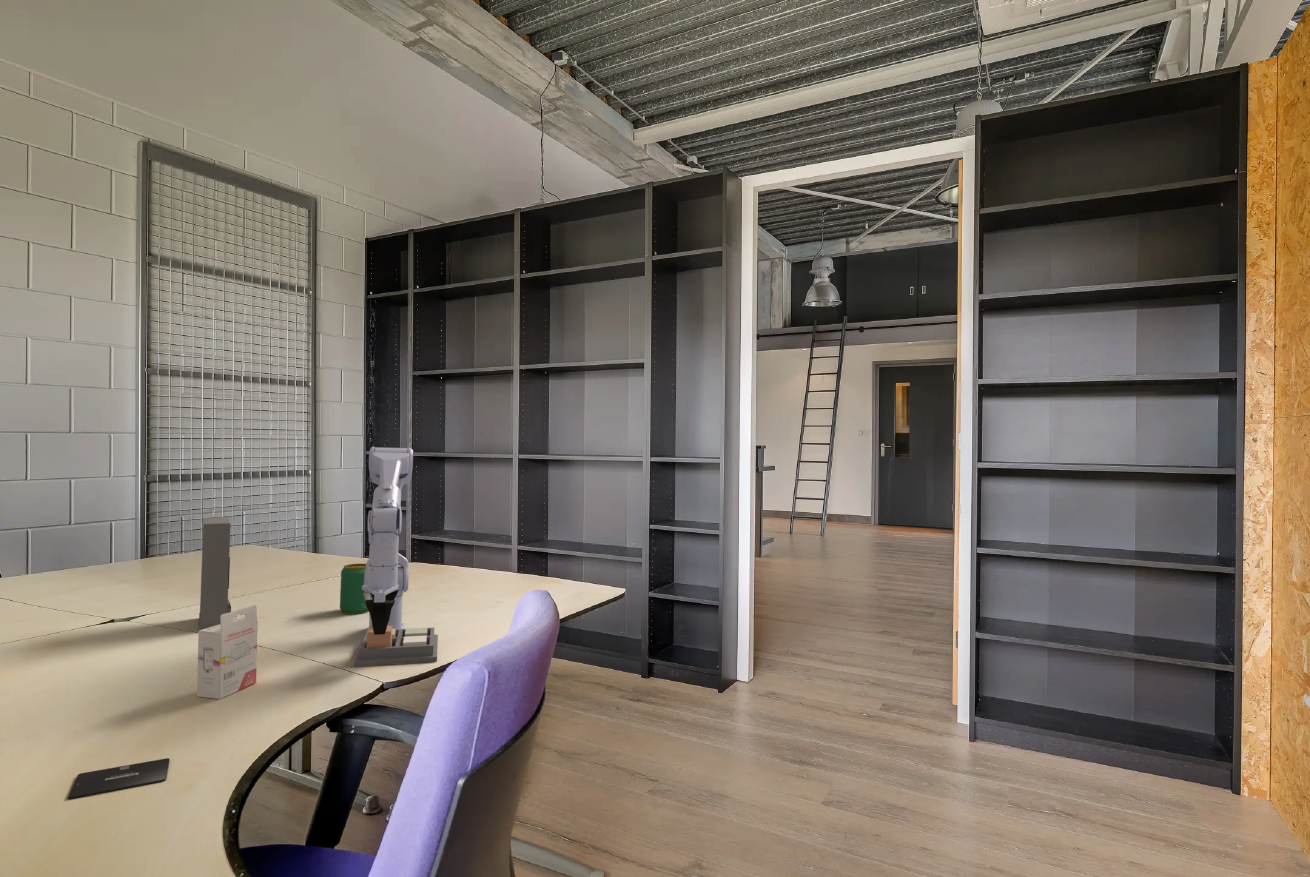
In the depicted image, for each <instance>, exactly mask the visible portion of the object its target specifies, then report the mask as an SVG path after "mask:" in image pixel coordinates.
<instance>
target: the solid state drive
mask: <svg viewBox="0 0 1310 877" xmlns="http://www.w3.org/2000/svg"><path fill="white" fill-rule="evenodd" d="M169 765H170V758H169V757H166V758H161V759H160V758H159V759H155V760H150V761H143V762H139V763H138V762H137V763H132V764H126V765H121V766H120V765H119V766H114V767H110V768H104V769H98V770H92V771H86V772H80V773H78V774H77V776H76V778H75V780H74V782H73V784H72V787H71V789H70V791H69V794H68V796H67V800H75V799H79V798H86V797H92V796H96V795H102V794H107V793H111V792H116V791H122V790H128V789H132V788H138V787H139V788H140V787H143V786H148V785H149V786H150V785H153V784H159V783H163V782H166V781H167V777H168V773H169V767H170V766H169Z"/></svg>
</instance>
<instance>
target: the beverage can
mask: <svg viewBox="0 0 1310 877" xmlns="http://www.w3.org/2000/svg"><path fill="white" fill-rule="evenodd" d="M365 569H366V563H350V564H349V563H348V564H345V565H343V568H342V569H341V571H340V588H339V589H340V590H339V592H340V594H339V595H340V596H339V609H340V611H341V613H342V614H345V615H359V614H364V613H365V614H366V613H369V611H368V609H367V607H366V604H365V602H366V600H370V597H369V594H366V592H364V590H362V586H363V585H364V576H365Z"/></svg>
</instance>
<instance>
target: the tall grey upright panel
mask: <svg viewBox="0 0 1310 877" xmlns="http://www.w3.org/2000/svg"><path fill="white" fill-rule="evenodd" d="M202 519H203V520H202V522H203V523H202V548H201V549H202V550H201V569H200V570H201V573H200V575H201V577H200V597H199V599H200V601H199V602H200V605H199V614H198V619H199V622H198V623H199V630H203V629H206V628H209V627H213V626H216V625H219V624H221V621H220V616H221V615H222V614H226V613H229V612H232V606H231V601H230V599H229V590H230V573H231V572H230V565H231V557H230V551H231V550H230V549H231V546H230V545H231V527H232V526H231V521H230V520H229V517H203V518H202Z"/></svg>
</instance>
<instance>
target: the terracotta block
mask: <svg viewBox="0 0 1310 877" xmlns="http://www.w3.org/2000/svg"><path fill="white" fill-rule="evenodd" d="M368 627H369V626H368ZM392 628H393V626H387V629H386V632H385V634H380V635H374V632H373V627H369V629H368V628H367V630H368V631H367V630H366V632H367V647H366V648H377V647H392Z"/></svg>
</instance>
